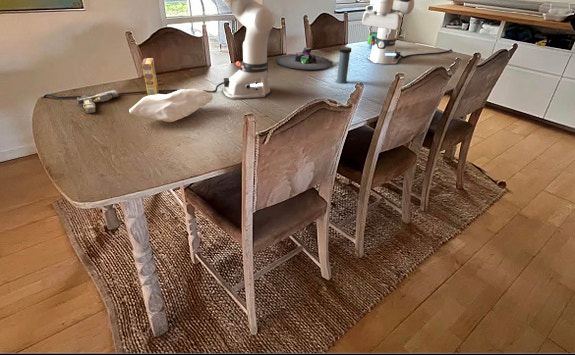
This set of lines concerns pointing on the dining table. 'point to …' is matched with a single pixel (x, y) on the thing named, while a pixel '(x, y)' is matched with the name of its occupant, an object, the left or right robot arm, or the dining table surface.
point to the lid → (345, 49)
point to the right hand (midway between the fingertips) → (378, 36)
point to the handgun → (95, 100)
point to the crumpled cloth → (171, 104)
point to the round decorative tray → (304, 61)
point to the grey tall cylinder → (343, 67)
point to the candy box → (150, 76)
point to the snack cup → (372, 39)
